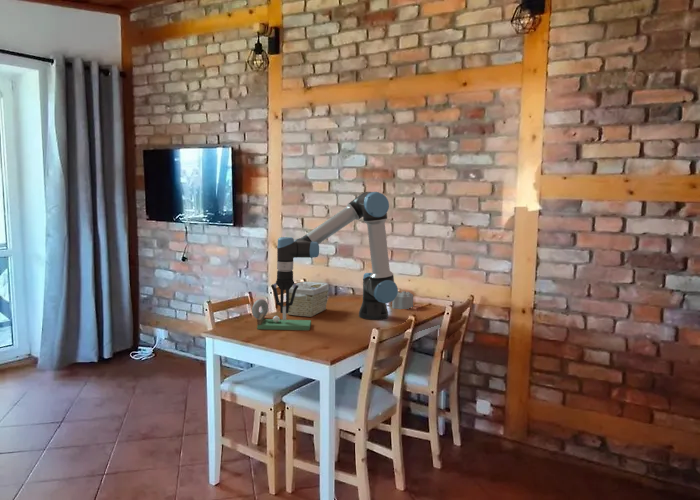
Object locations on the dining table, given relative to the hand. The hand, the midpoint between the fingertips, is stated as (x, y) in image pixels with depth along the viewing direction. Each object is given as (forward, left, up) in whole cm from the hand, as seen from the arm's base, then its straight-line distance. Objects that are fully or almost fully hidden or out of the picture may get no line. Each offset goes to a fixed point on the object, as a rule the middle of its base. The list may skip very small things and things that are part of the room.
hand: (284, 319), depth 271 cm
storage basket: (-9, -33, -4) cm, 34 cm away
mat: (0, 0, -3) cm, 3 cm away
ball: (+4, 0, 0) cm, 4 cm away
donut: (+14, -15, -4) cm, 21 cm away
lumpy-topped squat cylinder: (-61, -52, -4) cm, 80 cm away
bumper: (+11, 0, -1) cm, 11 cm away
